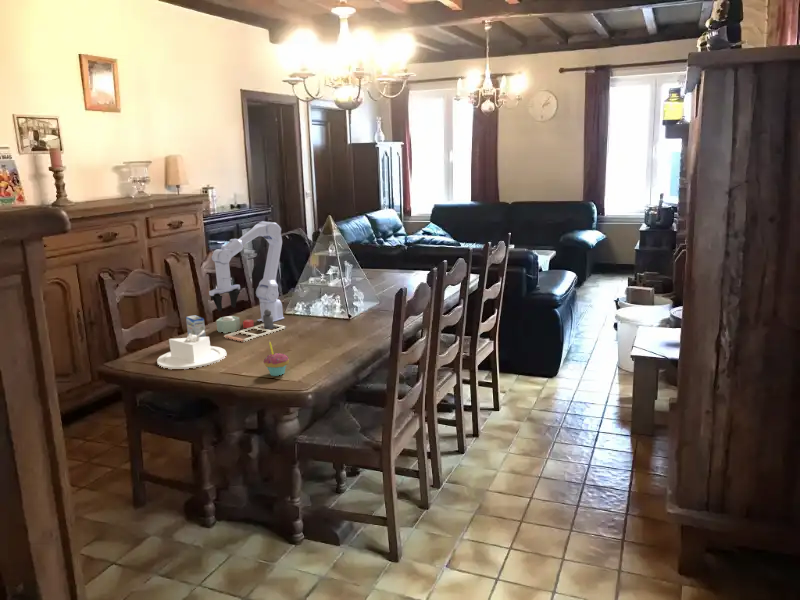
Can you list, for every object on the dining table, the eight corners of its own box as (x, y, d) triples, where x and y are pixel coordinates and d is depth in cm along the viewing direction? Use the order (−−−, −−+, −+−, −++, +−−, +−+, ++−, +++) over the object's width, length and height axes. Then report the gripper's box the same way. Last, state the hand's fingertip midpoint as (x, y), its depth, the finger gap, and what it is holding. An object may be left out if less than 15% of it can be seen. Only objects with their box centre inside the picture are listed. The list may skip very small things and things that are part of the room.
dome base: (230, 326, 290) (228, 315, 289) (244, 329, 284) (242, 318, 283) (214, 330, 284) (212, 319, 283) (228, 334, 278) (226, 322, 277)
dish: (238, 350, 256) (235, 322, 253) (202, 372, 232) (198, 341, 230) (183, 347, 263) (180, 320, 260) (143, 368, 239) (138, 338, 237)
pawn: (269, 327, 286) (267, 307, 284) (275, 328, 283) (274, 308, 281) (262, 329, 283) (260, 309, 281) (268, 330, 280) (266, 310, 278)
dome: (230, 324, 288) (229, 314, 287) (238, 326, 284) (237, 316, 283) (218, 327, 283) (217, 318, 282) (227, 329, 280) (226, 319, 279)
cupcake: (261, 377, 223) (258, 343, 221) (269, 369, 232) (266, 336, 229) (286, 378, 222) (283, 343, 219) (293, 369, 230) (290, 336, 228)
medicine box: (187, 336, 277) (185, 316, 275) (197, 334, 279) (195, 314, 277) (196, 340, 271) (193, 320, 269) (206, 338, 274) (204, 317, 272)
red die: (247, 326, 288) (246, 319, 288) (253, 326, 287) (253, 319, 287) (243, 328, 285) (242, 321, 285) (250, 328, 284) (249, 321, 284)
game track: (266, 324, 290) (266, 322, 290) (286, 328, 282) (286, 326, 282) (224, 337, 273) (223, 335, 273) (243, 342, 265) (243, 339, 265)
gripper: (231, 273, 286) (234, 304, 290) (203, 279, 276) (206, 311, 279) (241, 275, 282) (245, 306, 285) (213, 281, 271) (217, 313, 274)
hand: (226, 308), depth 282 cm, fingers open, 7 cm apart
